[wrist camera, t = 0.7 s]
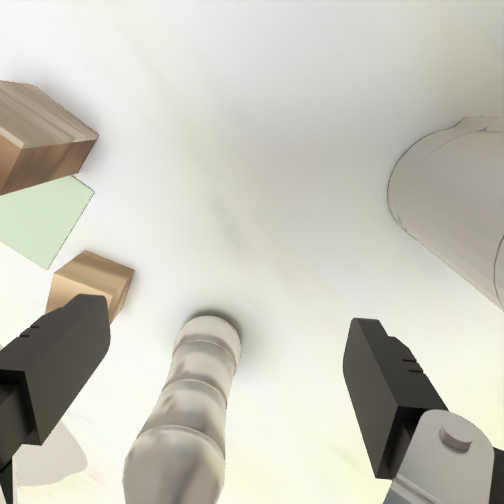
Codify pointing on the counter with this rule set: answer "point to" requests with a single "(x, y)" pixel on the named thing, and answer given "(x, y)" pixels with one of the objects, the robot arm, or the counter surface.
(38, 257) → the pad
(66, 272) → the oak block
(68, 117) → the walnut block
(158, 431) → the plastic bottle
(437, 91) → the counter surface
